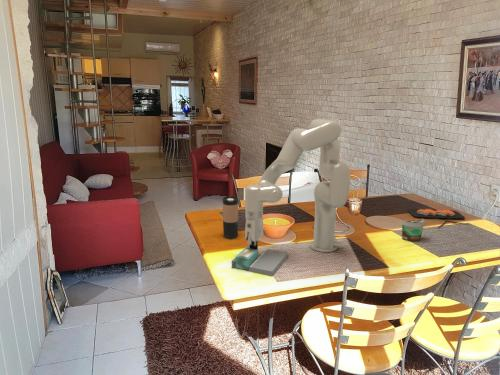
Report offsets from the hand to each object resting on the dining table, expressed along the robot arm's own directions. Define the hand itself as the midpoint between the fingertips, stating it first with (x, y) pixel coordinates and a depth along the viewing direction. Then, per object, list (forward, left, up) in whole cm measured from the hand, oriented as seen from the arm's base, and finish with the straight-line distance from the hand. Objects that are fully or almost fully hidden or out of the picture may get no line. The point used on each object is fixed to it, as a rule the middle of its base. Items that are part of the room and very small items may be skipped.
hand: (253, 253), depth 167 cm
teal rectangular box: (0, +7, -2) cm, 8 cm away
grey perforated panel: (-5, +3, -2) cm, 6 cm away
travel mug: (+20, -18, -2) cm, 28 cm away
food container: (-65, -51, -2) cm, 83 cm away
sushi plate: (-78, -91, -3) cm, 120 cm away
